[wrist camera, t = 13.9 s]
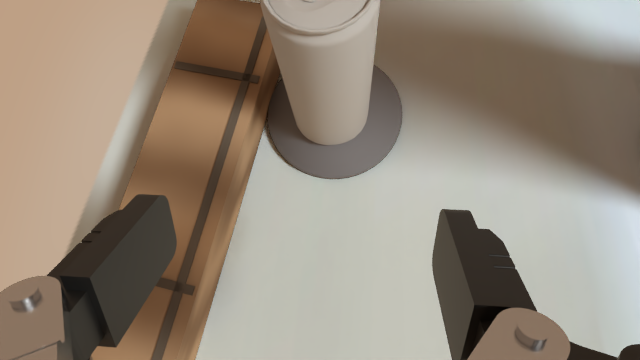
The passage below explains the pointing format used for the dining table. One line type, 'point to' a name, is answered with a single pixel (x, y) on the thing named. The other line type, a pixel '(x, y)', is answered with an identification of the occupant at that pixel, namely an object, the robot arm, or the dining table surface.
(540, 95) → the dining table surface
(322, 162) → the end pad
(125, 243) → the robot arm
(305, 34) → the beverage can
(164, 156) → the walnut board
